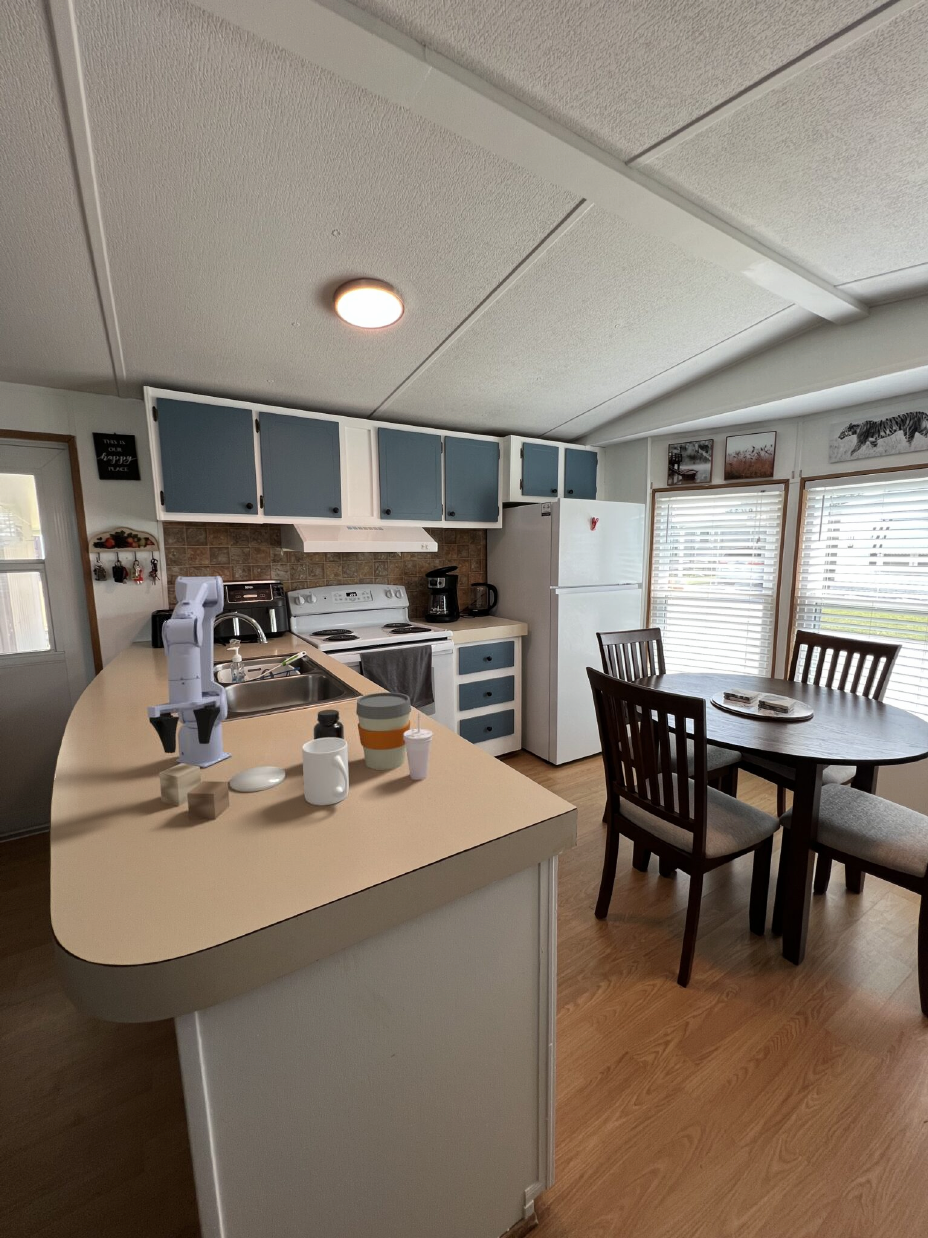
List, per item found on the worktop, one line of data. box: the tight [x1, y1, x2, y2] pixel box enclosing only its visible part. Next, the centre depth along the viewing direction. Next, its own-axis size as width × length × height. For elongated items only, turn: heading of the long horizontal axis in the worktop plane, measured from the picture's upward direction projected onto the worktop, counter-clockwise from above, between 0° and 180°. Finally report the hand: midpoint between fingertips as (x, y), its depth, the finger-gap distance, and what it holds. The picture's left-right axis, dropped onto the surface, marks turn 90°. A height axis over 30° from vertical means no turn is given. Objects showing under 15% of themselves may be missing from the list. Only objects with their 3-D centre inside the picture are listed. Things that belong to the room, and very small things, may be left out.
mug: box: [301, 738, 350, 807], centre depth 100 cm, size 9×12×11 cm
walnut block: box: [187, 780, 230, 820], centre depth 96 cm, size 5×5×5 cm
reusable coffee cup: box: [356, 692, 412, 771], centre depth 118 cm, size 13×12×15 cm
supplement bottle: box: [313, 709, 345, 740], centre depth 119 cm, size 7×7×12 cm
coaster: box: [229, 765, 286, 793], centre depth 110 cm, size 11×11×1 cm
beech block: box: [159, 763, 202, 807], centre depth 102 cm, size 5×5×6 cm
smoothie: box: [403, 712, 434, 781], centre depth 111 cm, size 6×6×14 cm
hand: (187, 748), depth 101 cm, fingers open, 7 cm apart
